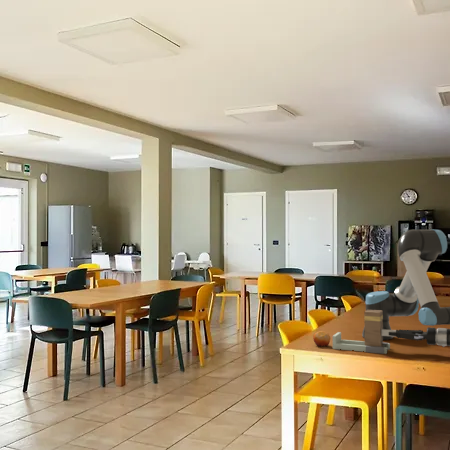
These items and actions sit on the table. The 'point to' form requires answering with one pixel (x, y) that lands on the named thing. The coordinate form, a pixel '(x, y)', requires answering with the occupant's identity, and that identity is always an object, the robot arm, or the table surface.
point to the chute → (357, 345)
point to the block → (373, 328)
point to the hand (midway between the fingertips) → (381, 332)
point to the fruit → (321, 338)
